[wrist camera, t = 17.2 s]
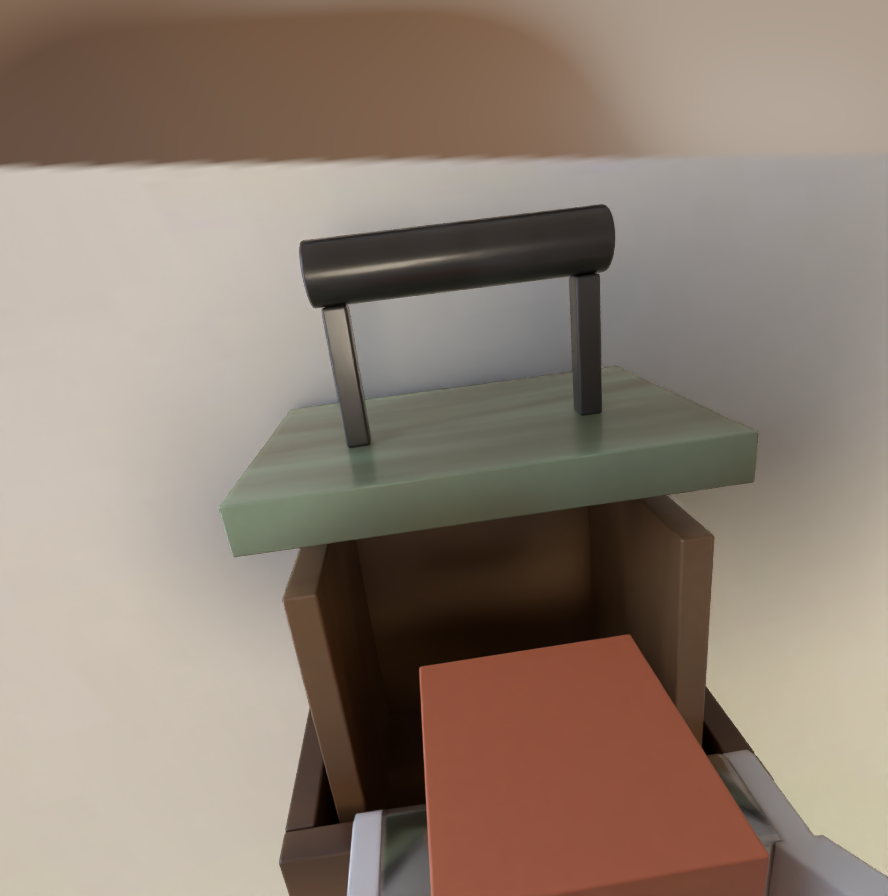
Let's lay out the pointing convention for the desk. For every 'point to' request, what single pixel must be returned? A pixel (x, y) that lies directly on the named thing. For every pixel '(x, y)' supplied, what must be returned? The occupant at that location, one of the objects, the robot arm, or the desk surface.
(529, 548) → the drawer
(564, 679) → the block
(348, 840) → the cabinet
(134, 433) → the desk surface
